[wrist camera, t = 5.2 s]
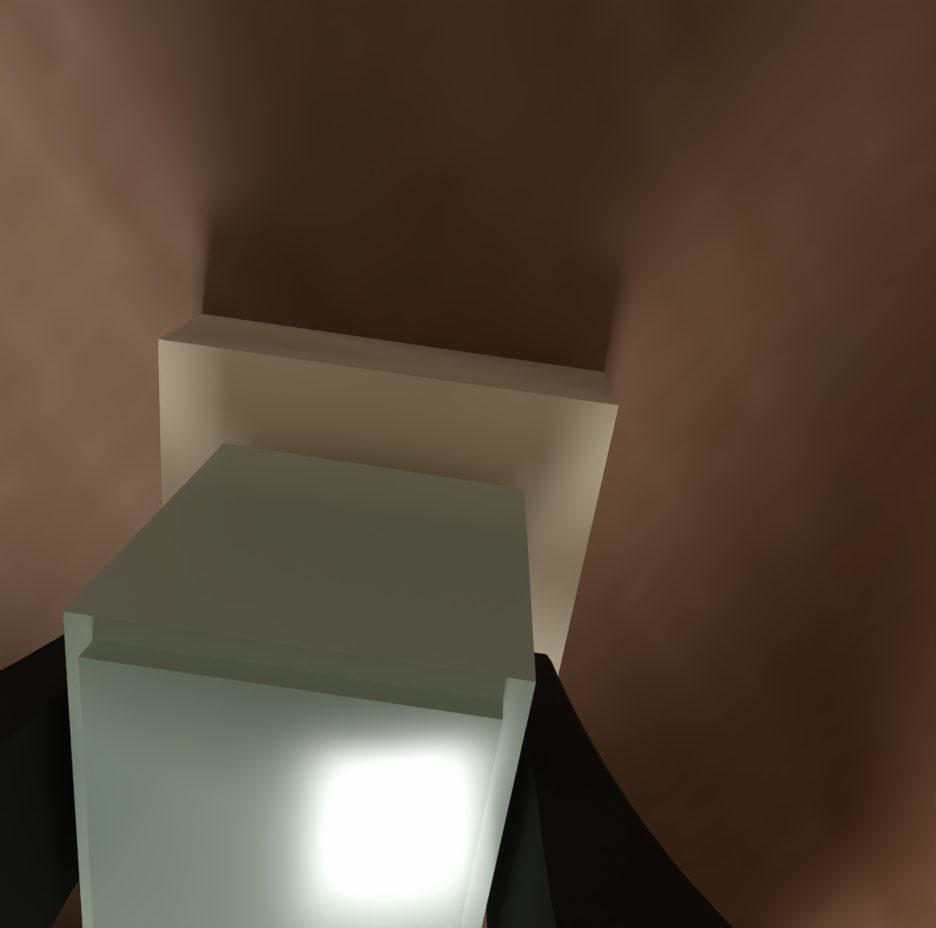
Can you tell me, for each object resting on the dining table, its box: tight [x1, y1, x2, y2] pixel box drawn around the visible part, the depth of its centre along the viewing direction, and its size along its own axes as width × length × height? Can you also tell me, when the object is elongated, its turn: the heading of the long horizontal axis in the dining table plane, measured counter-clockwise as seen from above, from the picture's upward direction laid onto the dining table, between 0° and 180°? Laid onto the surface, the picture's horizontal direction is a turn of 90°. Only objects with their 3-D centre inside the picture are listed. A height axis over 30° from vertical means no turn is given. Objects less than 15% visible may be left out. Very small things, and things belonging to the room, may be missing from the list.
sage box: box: [63, 443, 536, 928], centre depth 11 cm, size 5×5×5 cm
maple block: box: [158, 314, 619, 674], centre depth 16 cm, size 8×8×2 cm
